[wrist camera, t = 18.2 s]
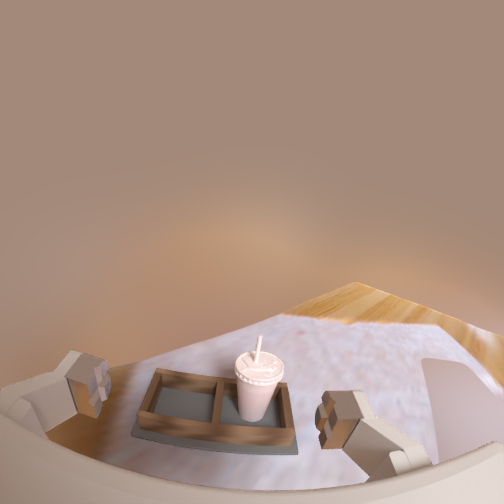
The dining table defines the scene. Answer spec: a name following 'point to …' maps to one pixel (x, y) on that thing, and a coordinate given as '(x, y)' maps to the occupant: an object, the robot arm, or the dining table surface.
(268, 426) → the mat
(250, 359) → the smoothie
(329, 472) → the dining table surface
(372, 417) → the robot arm
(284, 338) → the dining table surface
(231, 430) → the tray
